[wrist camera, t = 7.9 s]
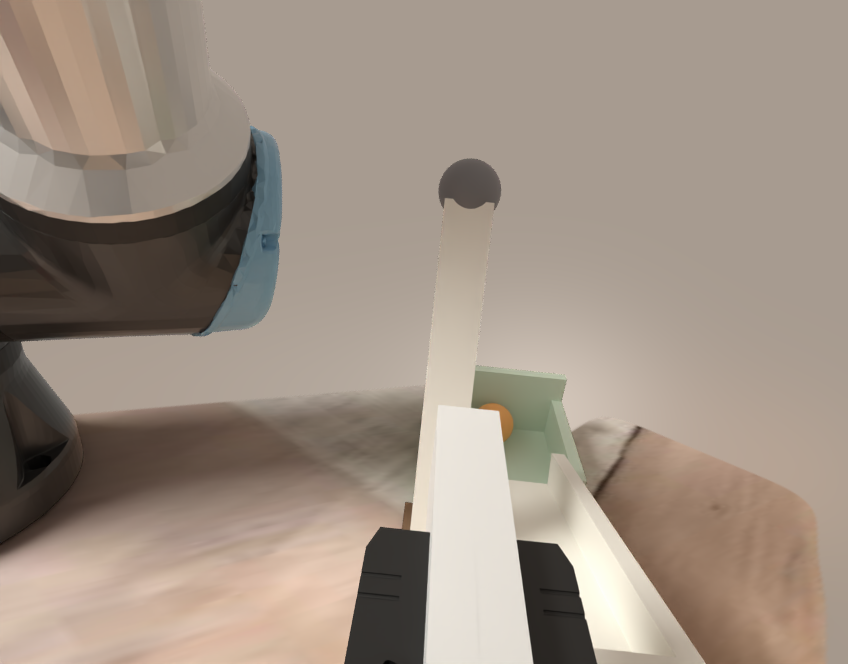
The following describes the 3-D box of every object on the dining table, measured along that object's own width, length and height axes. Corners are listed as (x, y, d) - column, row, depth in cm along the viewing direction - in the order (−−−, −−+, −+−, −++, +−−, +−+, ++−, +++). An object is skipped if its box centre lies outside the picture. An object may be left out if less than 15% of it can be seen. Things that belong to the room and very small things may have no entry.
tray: (575, 522, 35) (594, 456, 33) (414, 504, 35) (421, 438, 33) (551, 431, 44) (564, 374, 42) (422, 417, 44) (429, 360, 42)
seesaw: (699, 782, 15) (824, 117, 13) (377, 745, 15) (445, 79, 13) (557, 503, 33) (599, 204, 31) (409, 487, 33) (440, 188, 31)
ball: (465, 413, 40) (461, 426, 42) (493, 446, 38) (487, 457, 41) (497, 389, 41) (491, 403, 43) (525, 421, 39) (517, 434, 42)
